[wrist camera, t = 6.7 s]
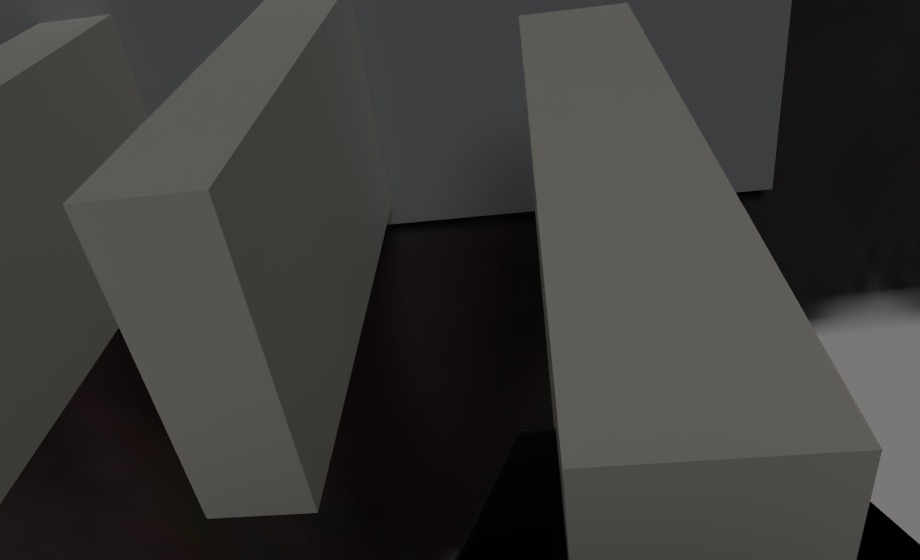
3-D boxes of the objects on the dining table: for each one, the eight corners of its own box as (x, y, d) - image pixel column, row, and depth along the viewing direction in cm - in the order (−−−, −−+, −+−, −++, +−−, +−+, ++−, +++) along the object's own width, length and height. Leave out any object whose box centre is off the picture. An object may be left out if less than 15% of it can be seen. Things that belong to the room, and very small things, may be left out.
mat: (767, 181, 18) (772, 189, 18) (-344, 285, 21) (-358, 293, 21) (814, -301, 13) (822, -302, 13) (-645, -76, 16) (-669, -72, 16)
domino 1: (111, 14, 16) (-228, 233, 9) (187, 224, 19) (-19, 530, 11) (38, 23, 16) (-357, 246, 9) (125, 230, 19) (-120, 536, 11)
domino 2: (347, -16, 16) (207, 189, 8) (391, 204, 18) (317, 512, 11) (270, -6, 16) (63, 204, 8) (324, 211, 18) (206, 519, 11)
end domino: (627, 2, 11) (882, 451, 4) (630, 284, 14) (784, 869, 7) (518, 15, 12) (563, 469, 4) (542, 291, 14) (594, 872, 7)
